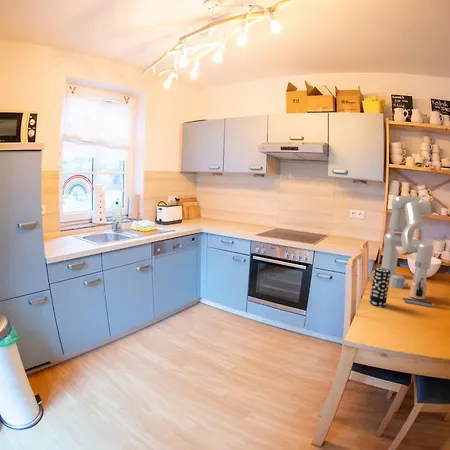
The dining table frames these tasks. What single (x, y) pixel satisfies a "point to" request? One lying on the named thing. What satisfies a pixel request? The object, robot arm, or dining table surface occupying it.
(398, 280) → the grey cup
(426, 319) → the dining table surface
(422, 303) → the mat
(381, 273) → the spotted tube
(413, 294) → the peach rounded capsule
